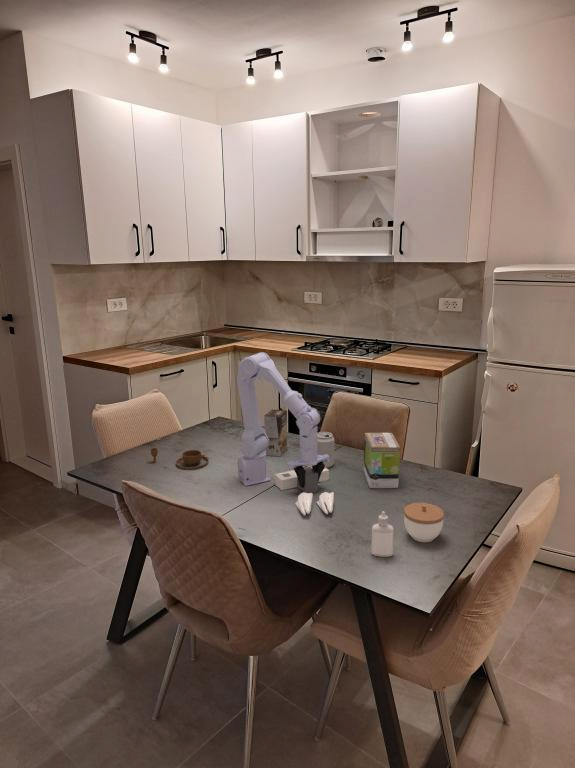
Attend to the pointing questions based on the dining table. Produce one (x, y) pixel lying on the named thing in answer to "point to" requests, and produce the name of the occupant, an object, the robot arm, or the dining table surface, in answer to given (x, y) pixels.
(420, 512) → the lidded jar
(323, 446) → the can
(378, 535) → the eye dropper bottle
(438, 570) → the dining table surface
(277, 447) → the coffee box
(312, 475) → the block
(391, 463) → the tea box
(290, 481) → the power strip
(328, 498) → the salt and pepper shakers
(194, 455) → the place setting
